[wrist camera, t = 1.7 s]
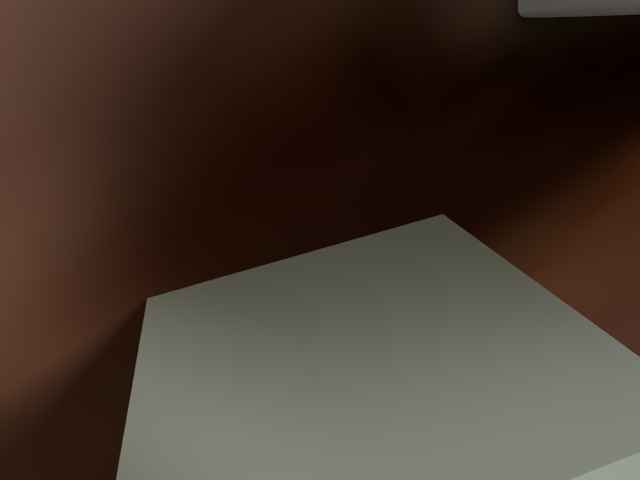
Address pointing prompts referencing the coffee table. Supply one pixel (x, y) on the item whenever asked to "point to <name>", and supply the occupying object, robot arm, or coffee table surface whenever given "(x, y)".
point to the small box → (577, 8)
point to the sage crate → (380, 372)
